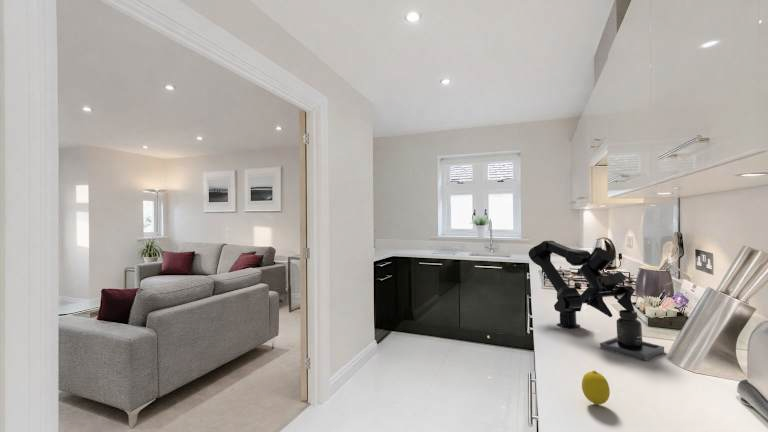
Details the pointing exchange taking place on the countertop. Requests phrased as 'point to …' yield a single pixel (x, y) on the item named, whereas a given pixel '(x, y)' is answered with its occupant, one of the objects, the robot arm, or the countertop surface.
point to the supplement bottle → (629, 331)
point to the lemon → (595, 387)
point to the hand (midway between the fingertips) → (622, 315)
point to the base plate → (644, 354)
